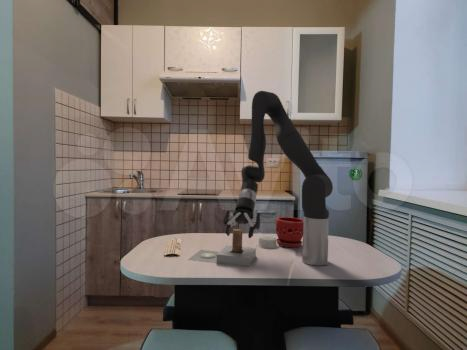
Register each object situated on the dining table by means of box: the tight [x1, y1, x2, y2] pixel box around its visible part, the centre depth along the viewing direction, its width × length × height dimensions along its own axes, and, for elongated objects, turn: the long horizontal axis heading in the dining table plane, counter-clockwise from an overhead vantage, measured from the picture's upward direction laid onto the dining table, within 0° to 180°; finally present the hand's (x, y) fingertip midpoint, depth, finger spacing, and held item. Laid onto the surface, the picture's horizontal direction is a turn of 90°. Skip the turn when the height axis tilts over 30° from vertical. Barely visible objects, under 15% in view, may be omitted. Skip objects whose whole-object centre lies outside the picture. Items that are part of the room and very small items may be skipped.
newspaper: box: [163, 237, 182, 257], centre depth 126 cm, size 24×7×2 cm, turn 8°
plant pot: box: [275, 216, 303, 248], centre depth 135 cm, size 13×13×12 cm
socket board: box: [187, 245, 257, 268], centre depth 111 cm, size 23×13×4 cm, turn 75°
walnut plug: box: [231, 228, 243, 254], centre depth 109 cm, size 4×4×11 cm
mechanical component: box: [255, 236, 280, 249], centre depth 130 cm, size 10×4×10 cm
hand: (238, 235), depth 111 cm, fingers open, 8 cm apart
